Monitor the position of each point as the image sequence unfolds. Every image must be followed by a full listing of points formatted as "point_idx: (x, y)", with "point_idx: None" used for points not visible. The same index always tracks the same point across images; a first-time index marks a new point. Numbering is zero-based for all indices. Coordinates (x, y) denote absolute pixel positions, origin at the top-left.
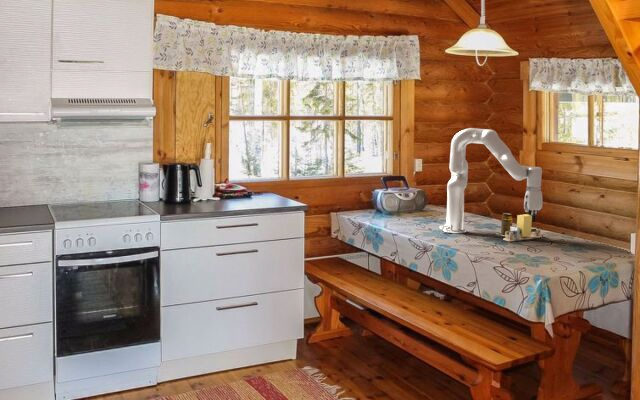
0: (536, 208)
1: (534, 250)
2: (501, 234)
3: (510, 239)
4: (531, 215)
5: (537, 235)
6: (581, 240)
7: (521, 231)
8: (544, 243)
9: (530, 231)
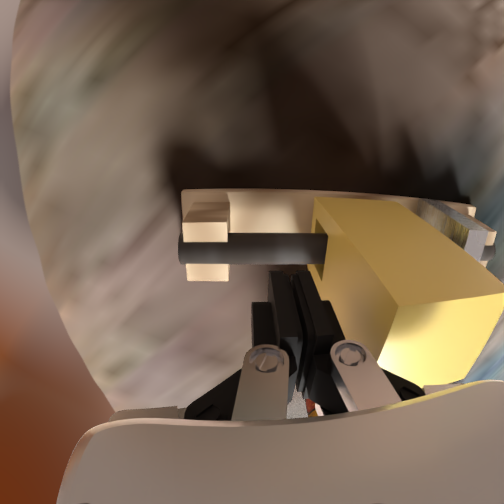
0: (352, 439)
1: (492, 4)
2: None
3: (465, 214)
4: (343, 347)
5: (224, 203)
6: (28, 31)
7: None
8: (339, 27)
9: (333, 209)
